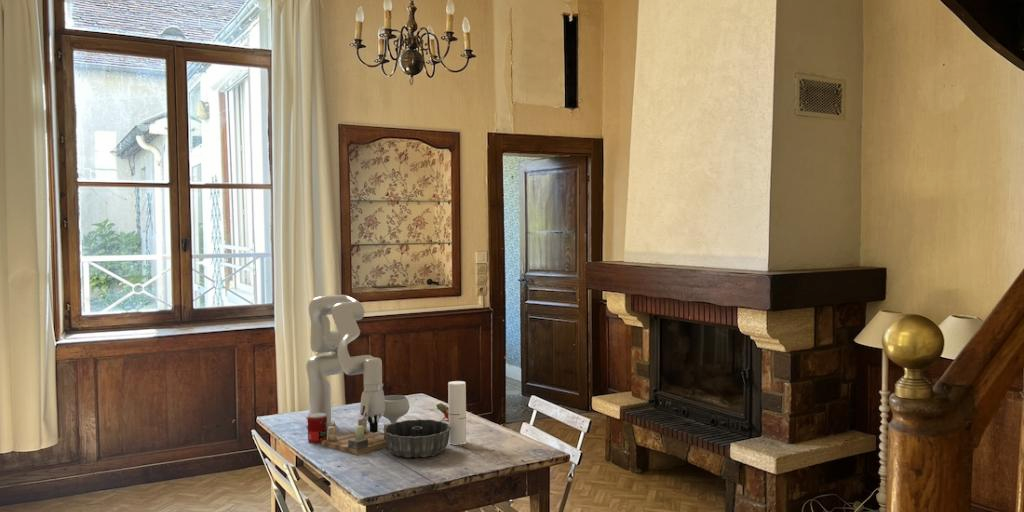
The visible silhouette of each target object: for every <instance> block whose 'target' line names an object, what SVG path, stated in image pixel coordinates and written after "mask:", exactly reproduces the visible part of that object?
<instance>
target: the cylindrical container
mask: <svg viewBox="0 0 1024 512" xmlns="http://www.w3.org/2000/svg"><path fill="white" fill-rule="evenodd" d="M466 383H467V382H466V381H463V380H454V381H453V380H452V381H448V383H447V386H448V387H447V390H448V392H447V393H448V396H447V397H448V398H447V399H448V400H447V401H448V405H447V407H449V421H448V424H449V426H450V427H451V429H450V433H449V440H448V444H449V443H452V444H460V443H464V442H466V443H467V394H466V393H467V389H466V388H467V384H466Z"/></svg>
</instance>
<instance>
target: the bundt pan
mask: <svg viewBox="0 0 1024 512" xmlns="http://www.w3.org/2000/svg"><path fill="white" fill-rule="evenodd" d="M389 424H390V425H387V426H386V428H384V427H383V428H382V429H383V430H384V433H385V436H386V442H387V447H388V450H389V451H390V453H392V454H394V455H396V456H397V457H399V458H400V457H402V456H403V457H404V458H408V459H409V458H412V457H413V458H414V459H417V458H419V457H421V458H427V457H433V456H435V455H437V454H439V453H441V452H443V451H444V450H445V449H446V447H447V446H448V444H449V433H450V429H451V427H450V426H449V422H444V421H443V420H442V421H441V420H435V419H418V418H417V419H406V420H402V421H396V422H395V423H394V424H391V423H389ZM429 455H431V456H429Z"/></svg>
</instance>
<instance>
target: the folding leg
mask: <svg viewBox="0 0 1024 512" xmlns="http://www.w3.org/2000/svg"><path fill="white" fill-rule="evenodd" d="M354 429H355V431H354V432H355V439H356V440H357V441H361V440H365V439H364V426H362V425H359V426H358V425H356V426H355V427H354ZM371 443H373V441H372V438H368V444H371Z"/></svg>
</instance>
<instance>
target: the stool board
mask: <svg viewBox="0 0 1024 512" xmlns="http://www.w3.org/2000/svg"><path fill="white" fill-rule="evenodd" d="M367 422H368V421H367V420H363V418H359V419H357V424H358V425H357V426H359V425H362V426H364V439H365V440H361V441H357V440H356V439H355V431H354V432H351V433H347V434H343V435H340V436H339V435H337V434H338V433H337V432H338V431H337V426H336V425H334V426H330V427H328V428H327V440H324V441H322V442H321V447H324V448H328V449H332V450H336V451H339V452H344V453H349V454H351V455H356V456H360V455H363V454H365V453H369V452H374V451H375V450H376V451H377V450H380V449H383V448H386V447H388V446H387V442H386V436H385V433H384V434H381V433H378V432H375V433H373V432H370V430H367V429H368V426H367V425H368V423H367ZM390 424H391V423H388V424H387V423H386V424H383V429H384V428H386V426H387V425H390ZM368 438H372V441H373V443H371V444H368Z"/></svg>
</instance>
